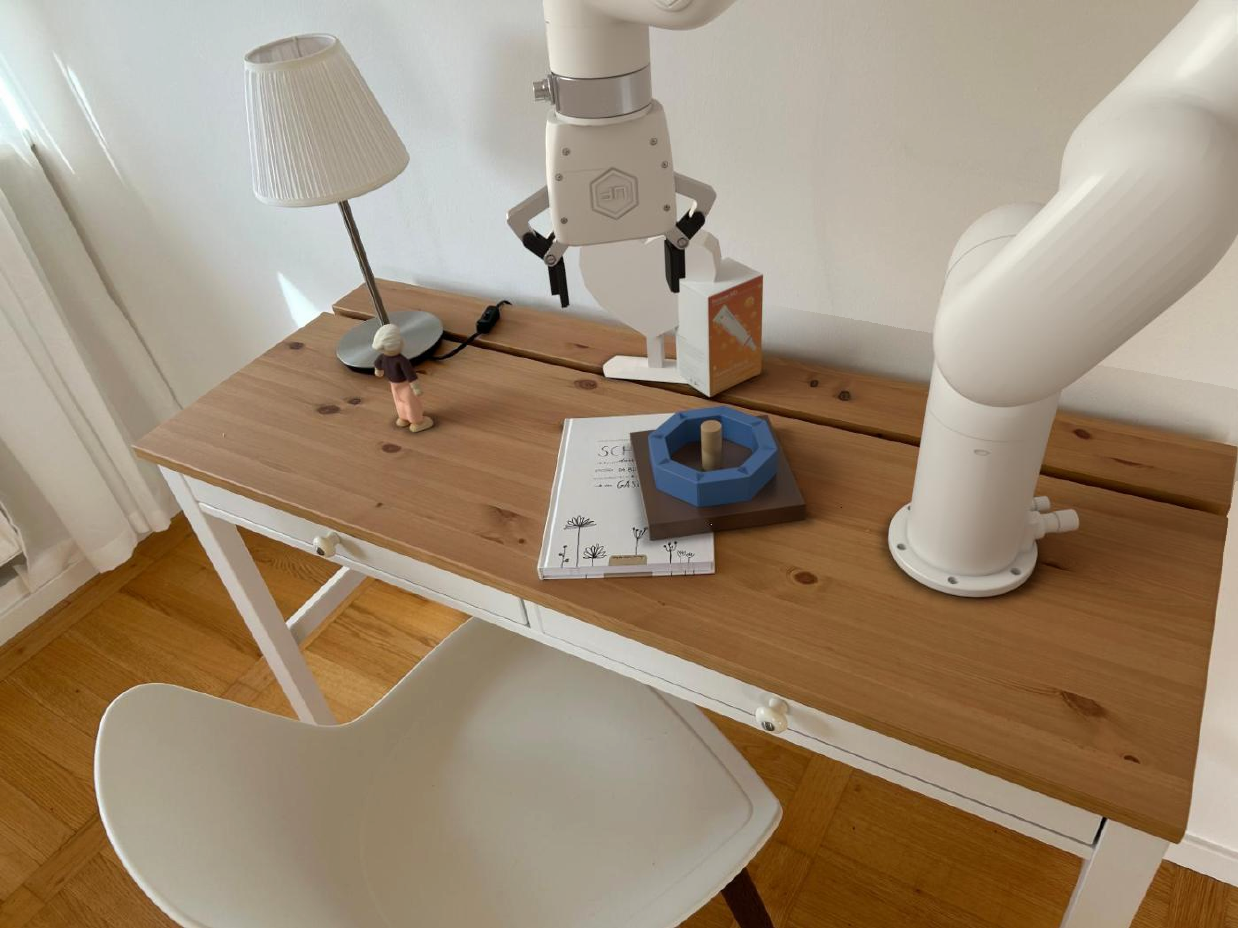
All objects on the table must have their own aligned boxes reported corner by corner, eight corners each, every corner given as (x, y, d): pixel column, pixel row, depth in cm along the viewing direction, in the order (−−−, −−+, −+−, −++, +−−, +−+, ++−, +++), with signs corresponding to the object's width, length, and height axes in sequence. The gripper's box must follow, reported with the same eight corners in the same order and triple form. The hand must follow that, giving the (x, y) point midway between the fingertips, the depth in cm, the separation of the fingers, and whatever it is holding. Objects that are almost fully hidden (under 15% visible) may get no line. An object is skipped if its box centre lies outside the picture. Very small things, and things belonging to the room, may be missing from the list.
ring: (757, 424, 96) (757, 400, 94) (786, 495, 86) (787, 471, 84) (645, 438, 95) (643, 415, 93) (662, 512, 86) (660, 488, 84)
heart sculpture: (724, 363, 109) (722, 221, 98) (716, 385, 105) (713, 241, 94) (601, 354, 113) (586, 217, 102) (590, 375, 109) (573, 236, 98)
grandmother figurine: (448, 419, 104) (424, 323, 97) (428, 437, 102) (402, 340, 94) (396, 406, 108) (369, 312, 100) (375, 423, 105) (346, 328, 97)
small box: (710, 399, 103) (707, 297, 95) (676, 377, 108) (670, 278, 100) (763, 373, 107) (764, 273, 99) (728, 353, 111) (727, 255, 103)
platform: (767, 429, 98) (768, 375, 94) (804, 519, 86) (808, 462, 82) (630, 447, 97) (625, 393, 93) (649, 540, 86) (645, 484, 81)
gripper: (489, 119, 65) (522, 327, 75) (725, 91, 66) (725, 300, 76) (487, 90, 71) (518, 286, 81) (703, 65, 72) (706, 262, 82)
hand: (618, 293), depth 79 cm, fingers open, 9 cm apart
